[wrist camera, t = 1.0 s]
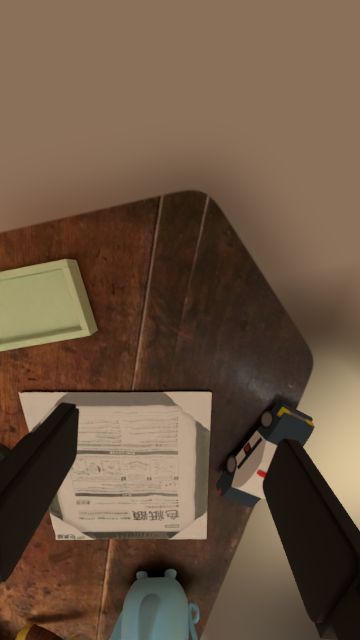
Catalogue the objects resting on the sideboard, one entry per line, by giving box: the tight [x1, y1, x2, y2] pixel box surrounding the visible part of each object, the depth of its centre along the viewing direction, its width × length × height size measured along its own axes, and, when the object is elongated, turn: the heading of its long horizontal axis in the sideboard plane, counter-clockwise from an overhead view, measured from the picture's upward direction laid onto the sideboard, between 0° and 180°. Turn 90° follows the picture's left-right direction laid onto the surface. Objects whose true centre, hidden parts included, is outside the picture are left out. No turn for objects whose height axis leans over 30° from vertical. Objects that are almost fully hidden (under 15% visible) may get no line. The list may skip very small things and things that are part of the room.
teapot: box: [109, 569, 199, 640], centre depth 32 cm, size 15×14×11 cm
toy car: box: [216, 401, 314, 507], centre depth 26 cm, size 5×16×5 cm, turn 150°
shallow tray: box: [0, 259, 98, 351], centre depth 22 cm, size 9×20×2 cm, turn 100°
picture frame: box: [19, 392, 212, 540], centre depth 30 cm, size 26×1×30 cm
